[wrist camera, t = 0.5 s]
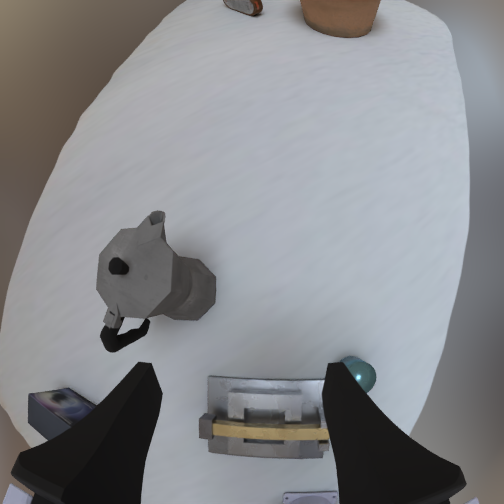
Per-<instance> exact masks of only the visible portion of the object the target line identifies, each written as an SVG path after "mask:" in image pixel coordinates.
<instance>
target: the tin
mask: <svg viewBox="0 0 504 504" xmlns="http://www.w3.org/2000/svg"><path fill="white" fill-rule="evenodd" d="M223 1H224V3H225V4H226V5H227V6H228V7H229V8H231V9H233V10H236V11H238V12H241V13H244V14H246V15H249V16H253V15H255V14H257V13H260V12H261V11H262V9H263V5H262V2H261V0H223Z"/></svg>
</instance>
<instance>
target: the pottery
mask: <svg viewBox="0 0 504 504" xmlns="http://www.w3.org/2000/svg"><path fill="white" fill-rule="evenodd" d="M380 1H381V0H300V2H301V6H302V10H303V14H304V19H305V21H306V23H307V25H309V26H310V27H311V28H313V29H314V30H316V31H319V32H321V33H323V34H327V35H331V36H335V37H346V38H351V37H360V36H363V35H366V34H368V33H369V32H370V31H371V28H372V25H373V22H374V19H375V16H376V13H377V10H378V7H379V4H380Z"/></svg>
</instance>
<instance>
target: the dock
mask: <svg viewBox="0 0 504 504" xmlns="http://www.w3.org/2000/svg"><path fill="white" fill-rule="evenodd" d="M324 381H325V379H305V380H281V379H249V378H231V377H218V376H208V414H215V415H217V420H223V421H233V422H245V423H261V424H320V428H321V429H322V428H327V425H326V421H325V416H324V410H323V402H322V390H323V385H324ZM208 447H209V452H211V453H219V454H227V455H236V456H246V457H260V458H285V459H308V458H323V451H329V440H328V439H327V440H266V439H249V438H237V437H227V436H219V435H215V437H214V438H213V439H212V440H209V439H208Z"/></svg>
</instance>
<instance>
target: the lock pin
mask: <svg viewBox="0 0 504 504" xmlns="http://www.w3.org/2000/svg"><path fill="white" fill-rule="evenodd" d="M215 435H219V436H227V437H237V438H249V439H266V440H327V439H329V433H328V429H327V428H322V429H321V428H320V424H261V423H245V422H233V421H223V420H217V415H215V414H207V413H205V414H204V415H202V416H201V417H200V418H199V438H202V439H209V440H212V439H213V438H214V437H215Z"/></svg>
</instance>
